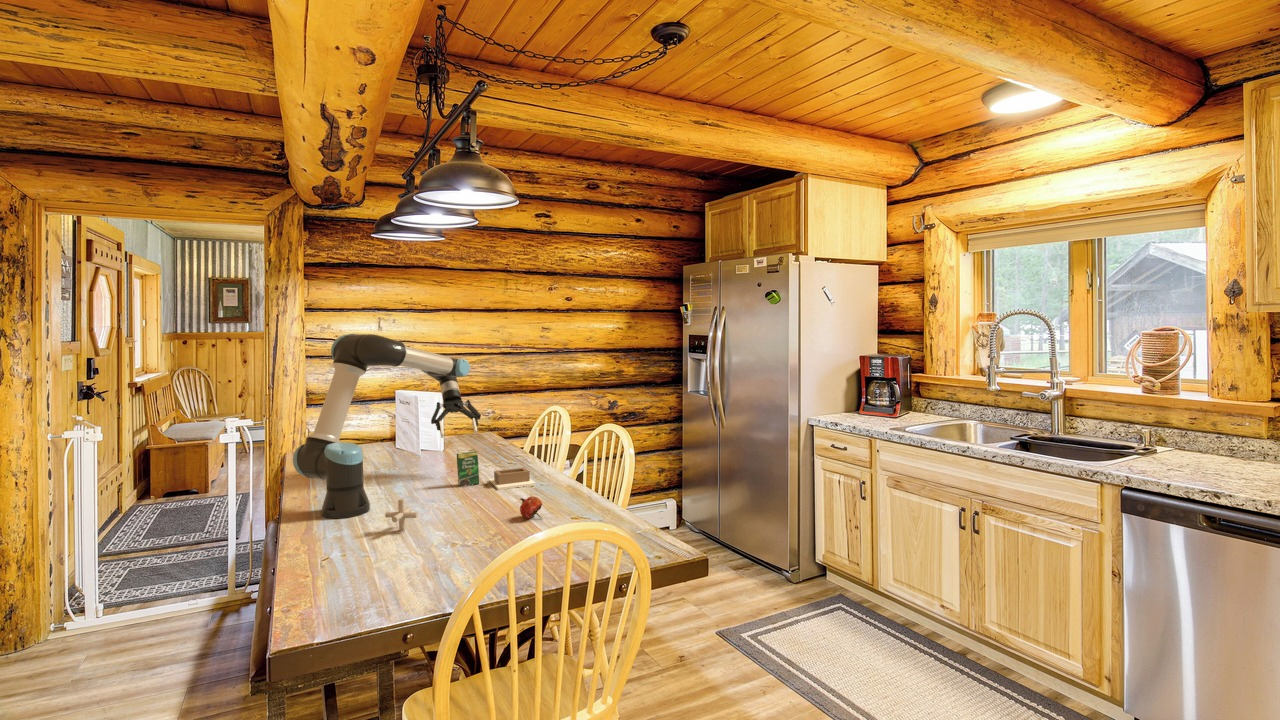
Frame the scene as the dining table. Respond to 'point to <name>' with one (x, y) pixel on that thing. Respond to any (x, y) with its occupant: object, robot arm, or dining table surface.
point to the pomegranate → (530, 507)
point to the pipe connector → (401, 514)
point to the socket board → (512, 478)
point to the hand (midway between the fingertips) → (459, 434)
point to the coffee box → (467, 468)
